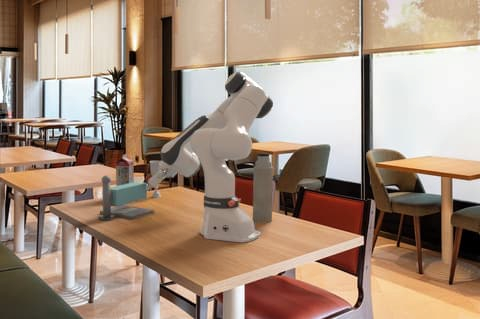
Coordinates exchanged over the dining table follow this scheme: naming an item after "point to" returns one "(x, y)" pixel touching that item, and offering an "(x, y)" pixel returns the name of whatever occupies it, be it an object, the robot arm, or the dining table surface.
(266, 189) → the thermos bottle
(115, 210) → the grey flat rectangular block
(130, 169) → the white tall printed box
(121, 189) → the block
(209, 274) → the dining table surface
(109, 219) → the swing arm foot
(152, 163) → the chalice
